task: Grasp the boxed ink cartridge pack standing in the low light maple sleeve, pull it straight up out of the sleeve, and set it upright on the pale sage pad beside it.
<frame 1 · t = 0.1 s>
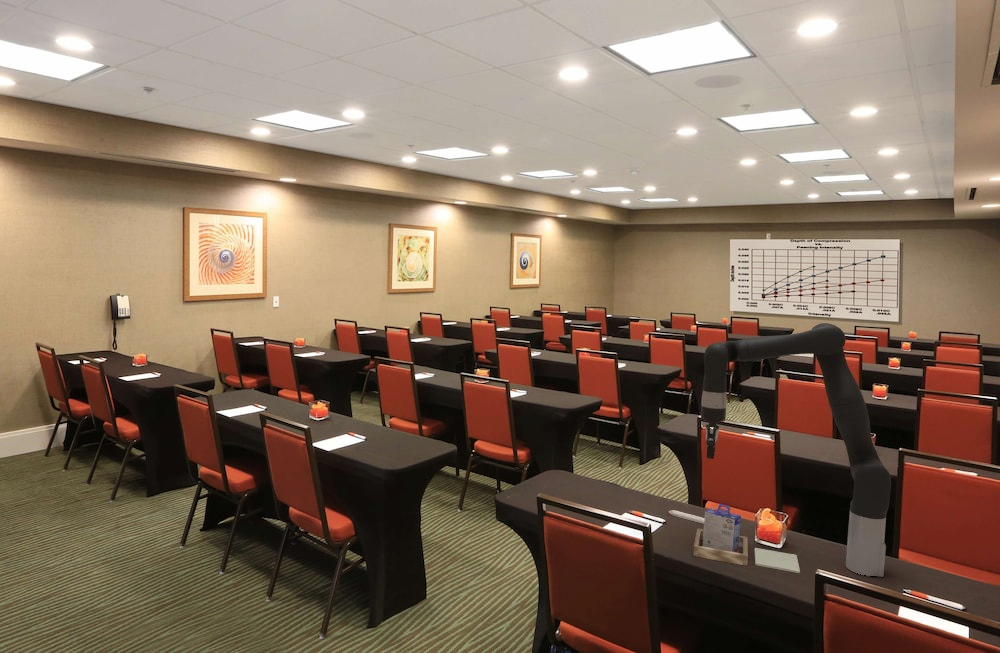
hand: (710, 455, 195), 29 cm above the table, fingers open, 8 cm apart
ink cartridge box: (720, 551, 191), resting in maple sleeve
sage pad: (776, 560, 185), on the table
maple sleeve: (720, 550, 191), on the table
marker: (692, 521, 216), on the table
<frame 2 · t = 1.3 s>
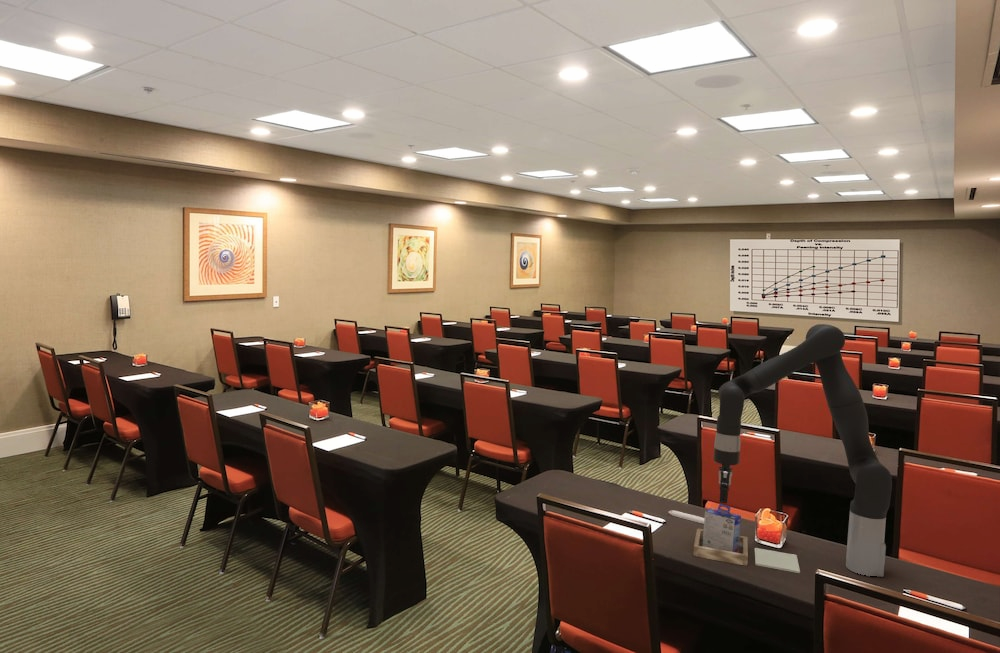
hand: (723, 498, 190), 17 cm above the table, fingers open, 8 cm apart
nothing on the table moved.
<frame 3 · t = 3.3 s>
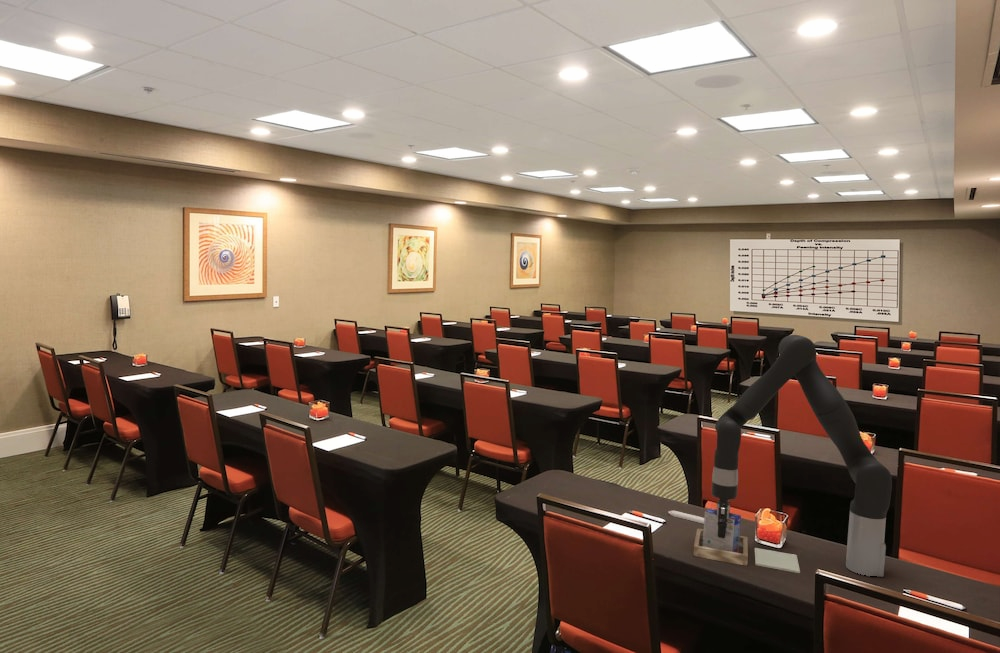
hand: (721, 533, 191), 6 cm above the table, fingers closed on ink cartridge box, 6 cm apart
ink cartridge box: (720, 551, 191), resting in maple sleeve, touching gripper
everything else where it was.
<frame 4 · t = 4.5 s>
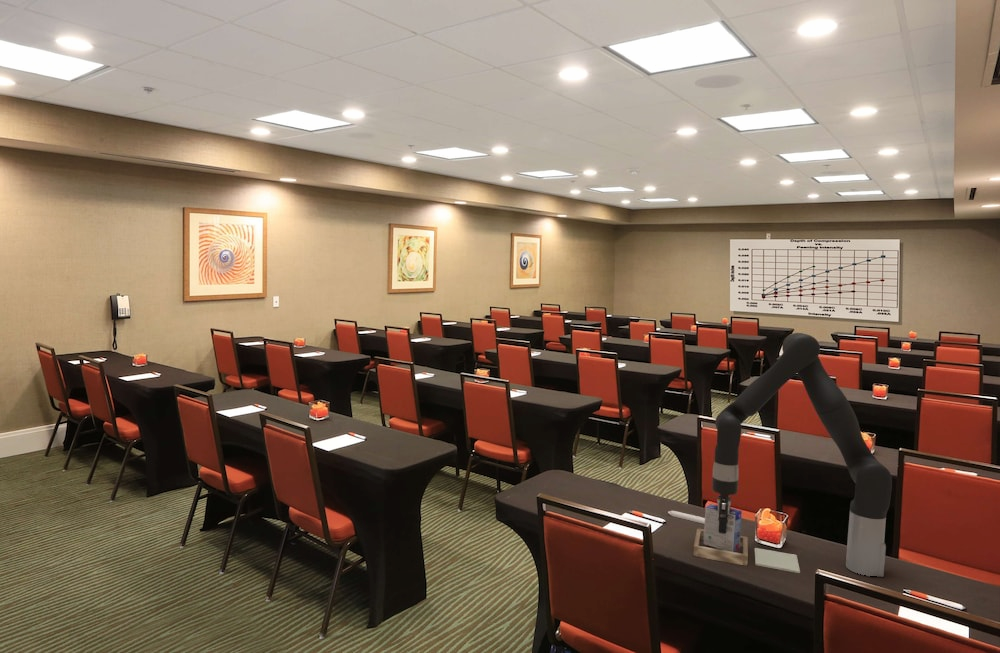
hand: (722, 528, 191), 7 cm above the table, fingers closed on ink cartridge box, 6 cm apart
ink cartridge box: (721, 547, 191), point 1 cm above the table, touching gripper
everything else where it was.
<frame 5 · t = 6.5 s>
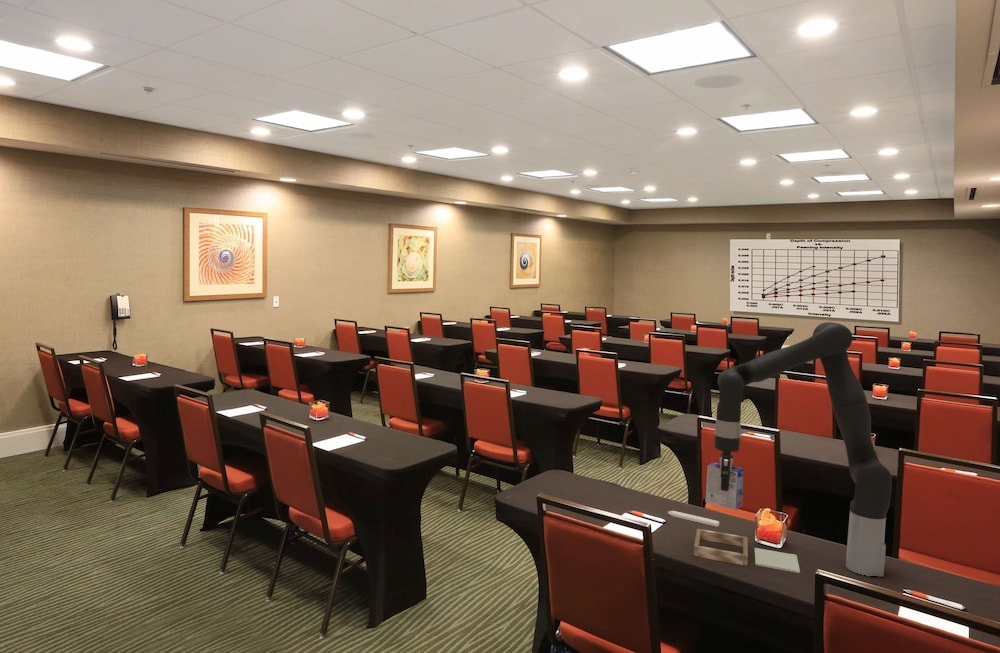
hand: (724, 486, 190), 21 cm above the table, fingers closed on ink cartridge box, 6 cm apart
ink cartridge box: (723, 505, 190), point 15 cm above the table, touching gripper
everything else where it was.
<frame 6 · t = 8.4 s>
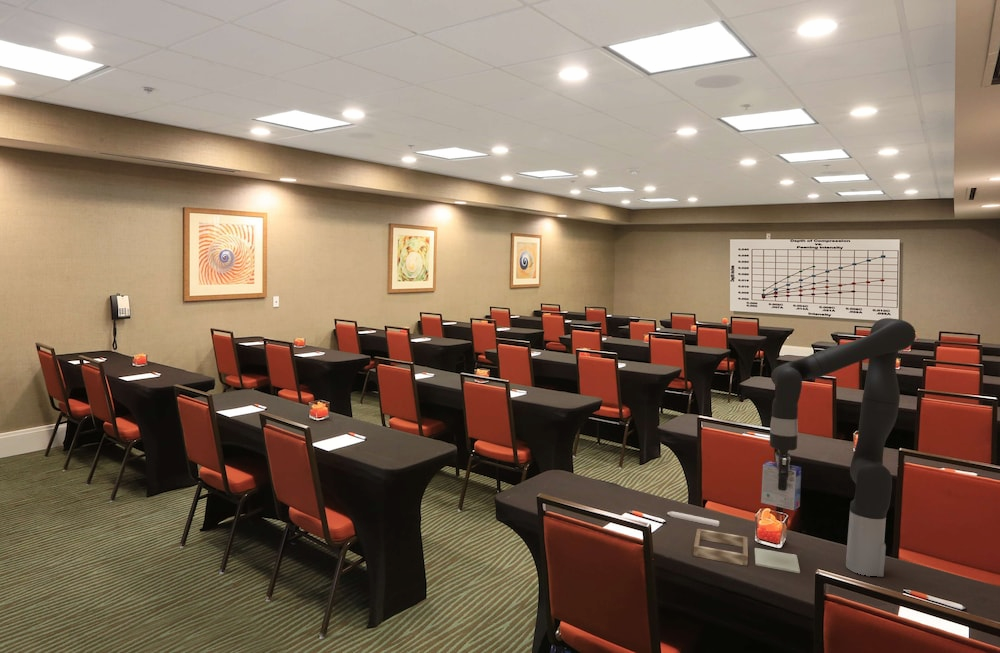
hand: (781, 486, 184), 23 cm above the table, fingers closed on ink cartridge box, 6 cm apart
ink cartridge box: (780, 505, 184), point 17 cm above the table, touching gripper
everything else where it was.
when the fingers open (8 cm above the table, at t = 12.5 s): ink cartridge box drops 1 cm, resting on sage pad.
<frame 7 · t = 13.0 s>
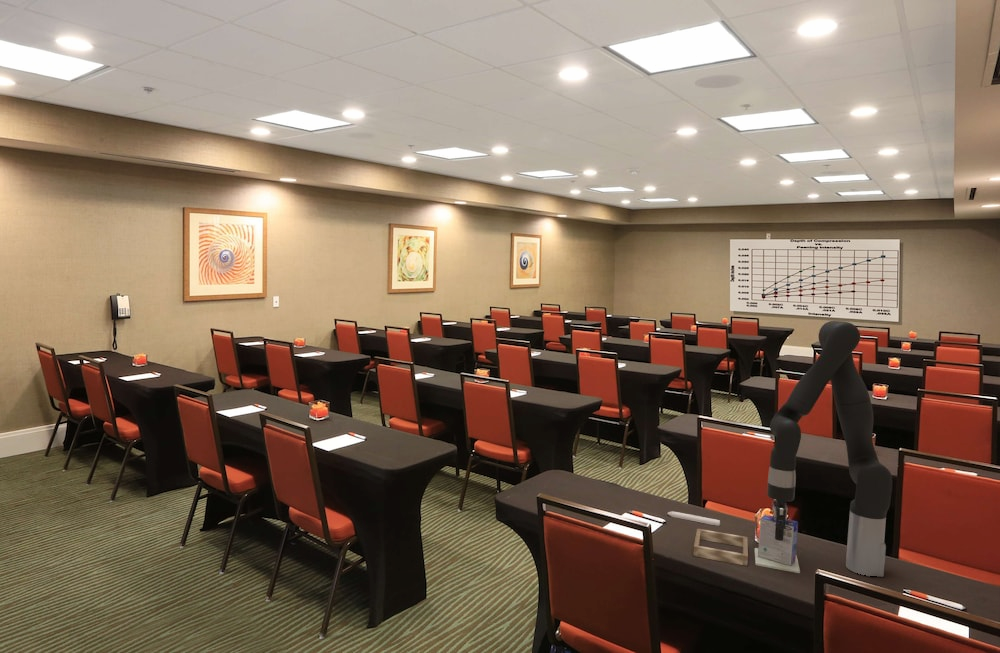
hand: (778, 534, 185), 8 cm above the table, fingers open, 8 cm apart
ink cartridge box: (776, 559, 186), resting on sage pad
everything else where it was.
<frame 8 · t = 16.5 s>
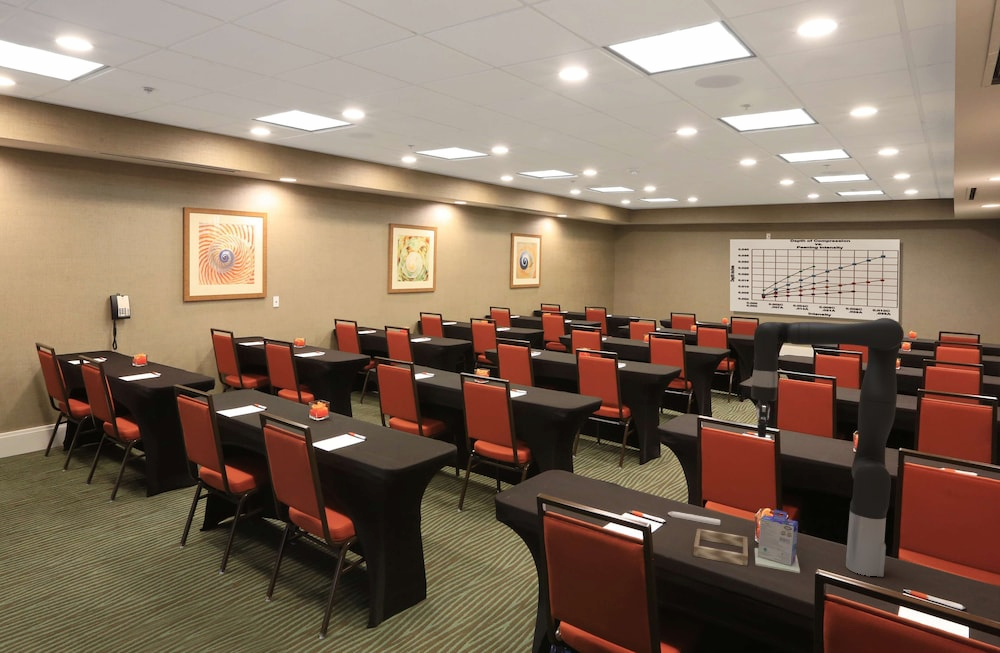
hand: (761, 434, 195), 36 cm above the table, fingers open, 8 cm apart
at the end: ink cartridge box inside the target area on the sage pad (0.3 cm from its centre), point 0.4 cm above the sage pad's base; ink cartridge box tilted 0°; the gripper is holding nothing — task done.
